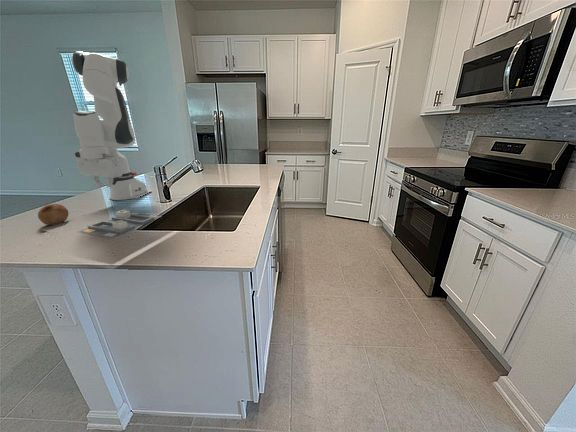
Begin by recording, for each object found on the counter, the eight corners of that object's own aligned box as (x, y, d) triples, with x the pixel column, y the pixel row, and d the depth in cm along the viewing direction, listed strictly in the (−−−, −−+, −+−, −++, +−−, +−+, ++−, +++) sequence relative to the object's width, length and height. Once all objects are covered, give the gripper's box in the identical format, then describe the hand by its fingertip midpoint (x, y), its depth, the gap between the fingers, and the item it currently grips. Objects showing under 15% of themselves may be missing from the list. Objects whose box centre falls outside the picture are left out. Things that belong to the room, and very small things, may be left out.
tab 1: (124, 216, 109) (122, 208, 108) (130, 217, 108) (129, 209, 107) (117, 218, 107) (115, 210, 105) (124, 219, 106) (123, 211, 104)
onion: (58, 233, 102) (45, 217, 95) (39, 225, 103) (25, 209, 96) (78, 218, 108) (67, 202, 101) (60, 211, 109) (49, 195, 102)
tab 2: (120, 227, 98) (118, 219, 96) (128, 228, 97) (126, 220, 95) (113, 230, 95) (111, 221, 94) (121, 231, 94) (119, 223, 93)
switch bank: (131, 214, 115) (130, 209, 114) (162, 218, 110) (161, 214, 110) (78, 234, 94) (76, 229, 93) (113, 241, 89) (111, 235, 88)
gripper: (122, 153, 99) (129, 186, 104) (86, 151, 105) (94, 182, 110) (107, 155, 94) (116, 190, 99) (70, 153, 99) (80, 185, 104)
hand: (104, 186), depth 104 cm, fingers open, 5 cm apart
